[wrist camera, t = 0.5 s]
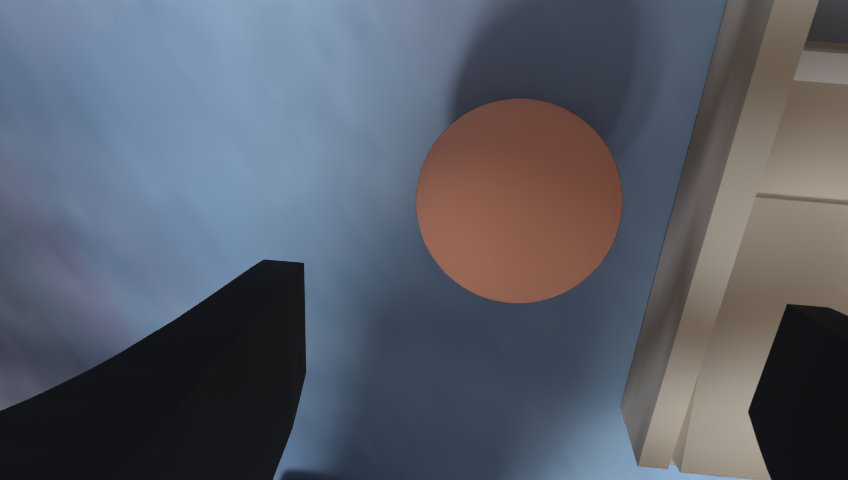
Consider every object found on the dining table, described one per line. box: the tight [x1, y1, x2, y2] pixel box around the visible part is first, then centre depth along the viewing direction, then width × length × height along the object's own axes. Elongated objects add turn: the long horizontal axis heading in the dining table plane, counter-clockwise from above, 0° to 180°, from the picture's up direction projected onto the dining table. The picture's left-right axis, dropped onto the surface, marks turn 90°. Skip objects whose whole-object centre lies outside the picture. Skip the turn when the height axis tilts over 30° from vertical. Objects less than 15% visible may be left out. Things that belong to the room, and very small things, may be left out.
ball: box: [416, 98, 622, 303], centre depth 17 cm, size 5×5×5 cm
